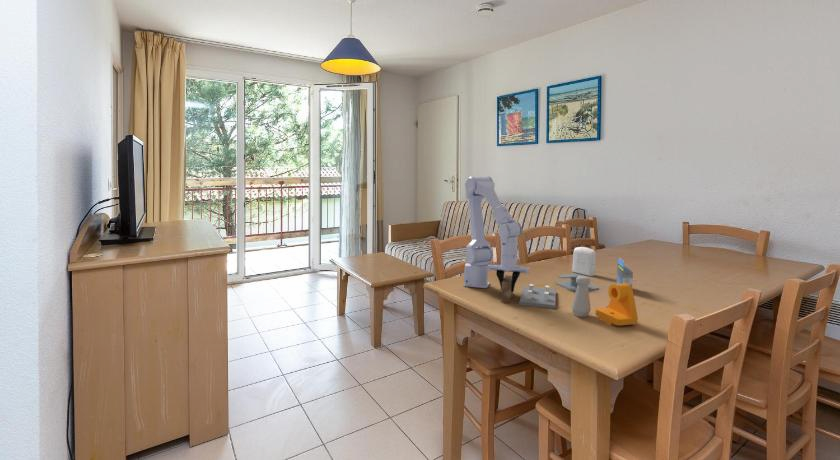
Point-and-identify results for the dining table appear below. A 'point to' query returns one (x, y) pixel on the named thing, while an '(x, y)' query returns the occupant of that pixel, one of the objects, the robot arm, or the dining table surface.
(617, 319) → the bracket
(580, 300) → the salt shaker
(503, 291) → the cabinet door
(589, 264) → the photo printer
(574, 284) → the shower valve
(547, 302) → the hinge board
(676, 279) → the dining table surface
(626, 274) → the label tape box
